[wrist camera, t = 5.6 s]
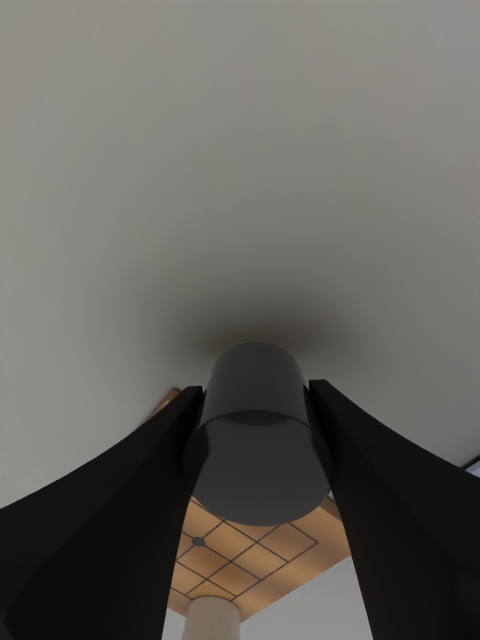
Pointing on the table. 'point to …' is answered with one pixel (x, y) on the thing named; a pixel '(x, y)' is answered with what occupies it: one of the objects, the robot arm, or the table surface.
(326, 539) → the go board
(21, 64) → the table surface
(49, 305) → the table surface
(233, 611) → the white stone
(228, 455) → the dark grey cylinder
